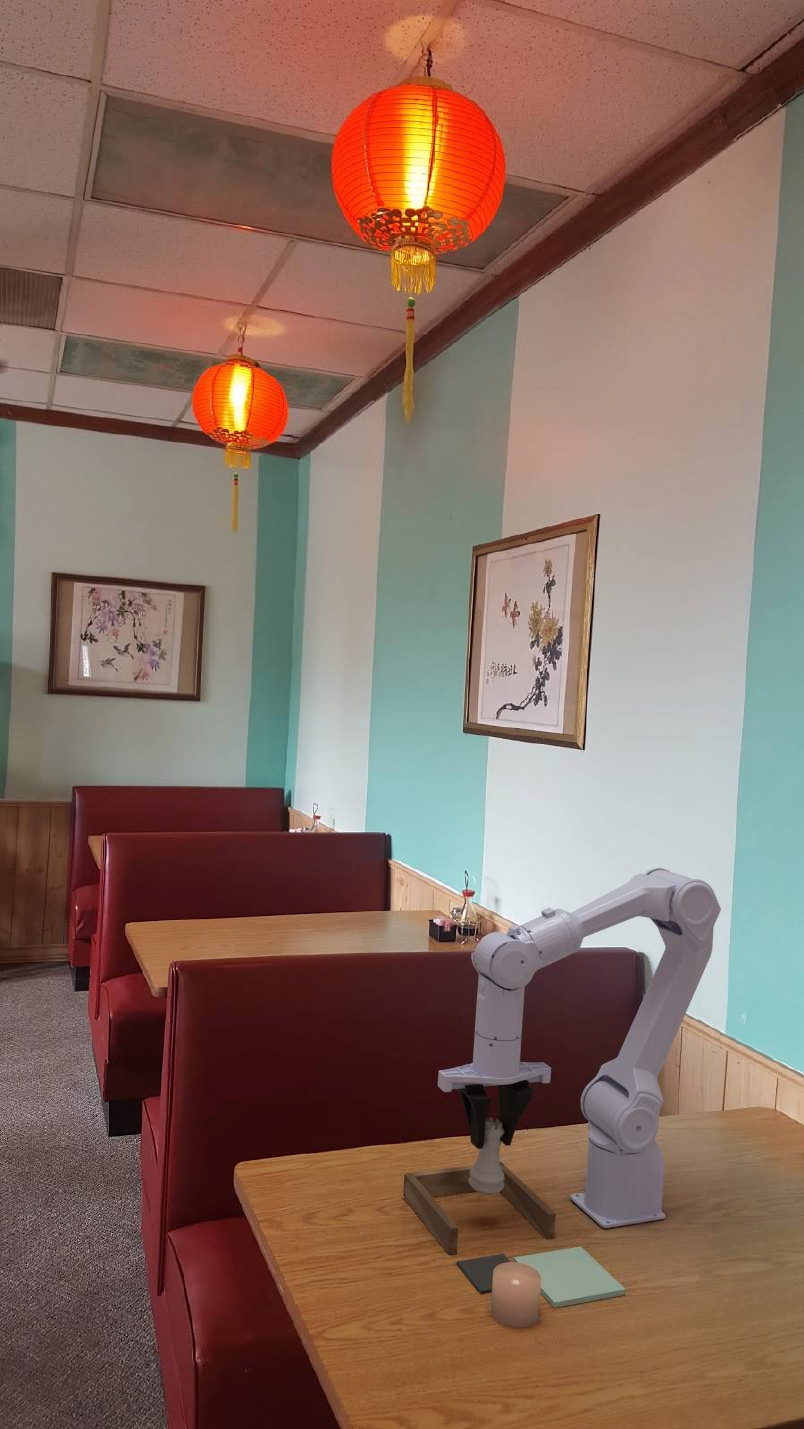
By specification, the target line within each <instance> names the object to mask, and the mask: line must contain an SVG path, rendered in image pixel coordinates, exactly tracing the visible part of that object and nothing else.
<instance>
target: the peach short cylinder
mask: <svg viewBox="0 0 804 1429" xmlns="http://www.w3.org/2000/svg"><path fill="white" fill-rule="evenodd" d="M540 1288H541V1276H540V1274H539V1272H538V1271H537V1270H535V1269H534V1268H532V1267H531V1266H528V1265H526V1264H522V1263H517V1262H513V1261H510V1262H506V1263H502V1264H500V1265H498V1266H496V1267H495V1269H494V1271H493V1284H492V1292H491V1300H490V1302H491V1303H490V1314H491V1316H492V1317H493V1318H494V1319H495V1320H496V1321H497V1322H498V1323H500V1322H501V1323H500V1324H502V1323H503V1324H502V1325H505V1326H507V1327H511V1328H517V1329H518V1328H529V1327H530V1326H534V1325H535V1324H537V1322H538V1321H539V1316H540V1314H539V1313H540V1301H541V1293H540Z"/></svg>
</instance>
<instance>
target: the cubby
mask: <svg viewBox="0 0 804 1429" xmlns="http://www.w3.org/2000/svg"><path fill="white" fill-rule="evenodd" d="M473 1166H474V1164H472V1165H463V1166H456V1167H448V1168H440V1169H432V1170H431V1169H430V1170H423V1171H415V1172H408V1173H407V1172H406V1173H404V1174H403V1175H404V1176H403V1189H402V1197H403V1196H404V1198H405V1199H406V1200H405V1199H404V1198H403V1199H404V1200H405V1201H407V1202H408V1203H409V1204H410V1205H409V1204H408V1203H407V1202H406V1203H407V1204H408V1205H409V1207H410V1206H411V1207H412V1208H413V1209H412V1208H411V1207H410V1208H411V1209H412V1211H413V1212H414V1211H415V1212H416V1213H417V1214H418V1215H417V1214H416V1213H415V1212H414V1213H415V1214H416V1215H417V1216H419V1217H418V1218H419V1220H421V1222H422V1221H423V1222H422V1223H423V1224H424V1225H425V1227H426V1228H427V1229H428V1230H429V1232H430V1233H431V1234H432V1235H433V1237H434V1238H435V1239H436V1240H437V1241H438V1243H439V1245H441V1247H442V1248H443V1249H444V1250H445V1252H446V1253H447V1254H448V1255H456V1254H457V1253H458V1243H459V1242H458V1241H459V1226H458V1225H457V1224H456V1223H455V1222H454V1220H453V1219H452V1218H451V1216H449V1214H447V1212H446V1211H445V1210H444V1209H443V1207H442V1206H441V1205H440V1204H439V1203H438V1202H437V1201H436V1199H435V1196H437V1197H444V1196H450V1195H458V1194H465V1193H472V1192H477V1191H476V1190H474V1189H473V1188H472V1187H471V1186H470V1184H469V1178H470V1177H471V1176H470V1170H471V1169H472V1167H473ZM500 1166H501V1167H502V1171H503V1173H504V1178H505V1179H504V1180H503V1182H504V1188H503V1189H502V1190H501V1191H500V1192H499V1193H500V1194H501V1195H502V1196H503V1197H504V1198H505V1199H506V1200H507V1201H508V1202H509V1203H510V1204H511V1205H514V1206H513V1207H514V1208H515V1209H516V1211H518V1212H519V1213H520V1214H521V1215H522V1216H523V1217H524V1218H525V1219H526V1220H527V1221H528V1222H529V1223H530V1224H531V1225H532V1226H533V1227H534V1228H535V1229H536V1230H537V1231H538V1232H539V1233H540V1234H541V1235H542V1236H543V1237H544V1238H545V1239H546V1240H550V1239H555V1230H556V1217H557V1215H556V1214H557V1212H555V1211H554V1210H553V1209H552V1208H551V1207H550V1206H549V1205H548V1204H547V1203H546V1202H545V1201H543V1199H541V1198H540V1197H539V1196H538V1195H537V1194H536V1193H535V1192H534V1191H533V1190H532V1189H531V1188H530V1187H529V1186H528V1185H527V1184H526V1183H524V1182H523V1181H522V1180H521V1179H520V1178H519V1177H518V1176H517V1175H516V1174H515V1173H514V1172H513V1171H511V1169H510V1168H508V1167H507V1166H506V1165H505V1164H504V1163H503V1162H502V1161H500ZM433 1196H434V1197H433Z"/></svg>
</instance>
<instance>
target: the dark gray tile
mask: <svg viewBox="0 0 804 1429" xmlns="http://www.w3.org/2000/svg"><path fill="white" fill-rule="evenodd" d="M506 1262H511V1261H510V1259H509V1258H508V1256H506V1255H505V1254H504V1253H500V1254H494V1255H489V1256H488V1255H487V1256H481V1257H475V1258H470V1259H463V1260H457V1261H456V1265H457V1267H458V1268H459V1270H461V1272H462V1273H463V1274H464V1275H465V1276H466V1278H467V1279H468V1281H470V1283H471V1284H472V1285H473V1287H474V1288H475V1289H476V1291H477V1292H478V1293H479V1294H481V1295H482V1294H487V1293H492V1284H493V1271H494V1269H495V1267H496V1266H498V1265H500V1264H502V1263H506Z"/></svg>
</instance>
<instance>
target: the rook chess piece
mask: <svg viewBox="0 0 804 1429" xmlns="http://www.w3.org/2000/svg"><path fill="white" fill-rule="evenodd" d="M503 1133H504V1129H503V1127H502V1122H500V1120H499V1118H498V1119H497V1118H496V1119H495V1121H494V1117H489V1118H488V1119H487V1118H486V1123H485V1138H484V1145H483V1148H482V1149H478V1154H477V1158H476V1161H475V1163H473V1165H474V1166H473V1167H472V1169H471V1170H470V1176H471V1177H470V1178H469V1184H470V1186H471V1187H472V1188H473V1189H474V1190H476V1191H475V1192H478V1193H480V1194H483V1195H495V1194H496V1195H497V1194H498V1193H500V1191H501V1190H502V1189H503V1188H504V1182H503V1180H504V1179H505V1178H504V1173H503V1171H502V1167H501V1166H500V1162H501V1161H500V1148H501V1146H502V1144H503V1143H502V1142H501V1141H500V1137H501V1136H502V1135H503Z"/></svg>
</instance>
